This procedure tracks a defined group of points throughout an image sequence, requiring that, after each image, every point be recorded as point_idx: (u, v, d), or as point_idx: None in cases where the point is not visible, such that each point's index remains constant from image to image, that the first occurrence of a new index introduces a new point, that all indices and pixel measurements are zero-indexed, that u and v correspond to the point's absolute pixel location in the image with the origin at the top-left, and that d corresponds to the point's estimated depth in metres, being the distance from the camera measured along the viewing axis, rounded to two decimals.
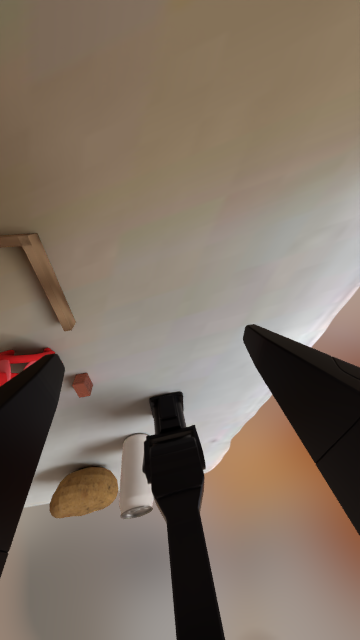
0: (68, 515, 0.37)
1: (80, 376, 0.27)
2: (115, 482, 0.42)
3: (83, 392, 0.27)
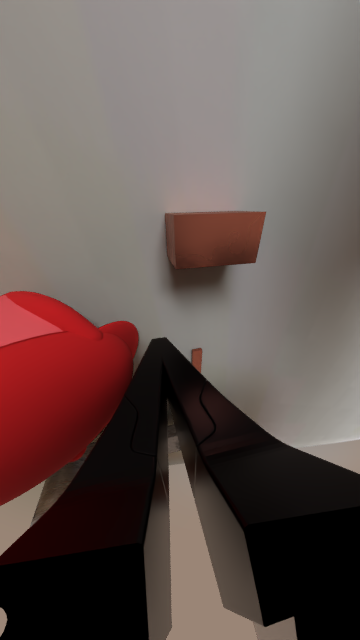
0: None
1: (168, 238, 0.07)
2: None
3: (233, 236, 0.06)
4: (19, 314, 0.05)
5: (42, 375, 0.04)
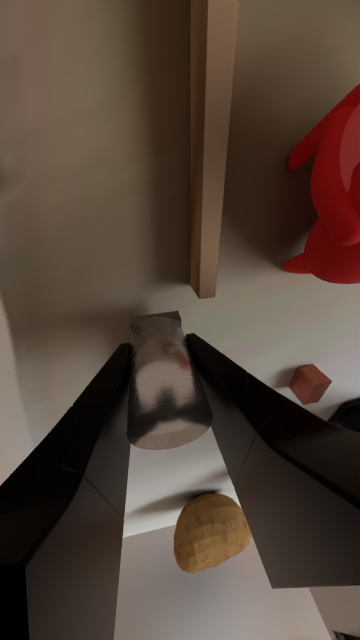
0: (204, 568, 0.26)
1: (309, 370, 0.16)
2: None
3: (316, 396, 0.16)
4: None
5: None
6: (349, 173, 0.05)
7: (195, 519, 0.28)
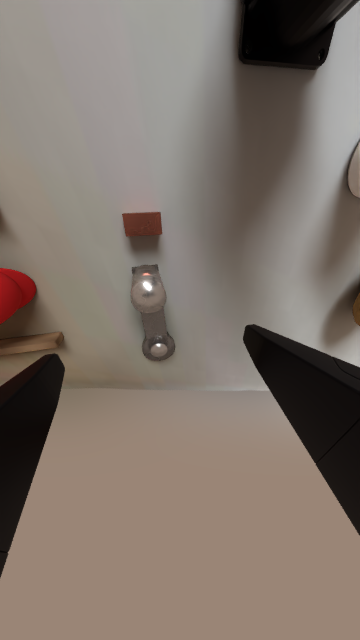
0: None
1: None
2: None
3: (148, 222, 0.14)
4: None
5: None
6: None
7: None
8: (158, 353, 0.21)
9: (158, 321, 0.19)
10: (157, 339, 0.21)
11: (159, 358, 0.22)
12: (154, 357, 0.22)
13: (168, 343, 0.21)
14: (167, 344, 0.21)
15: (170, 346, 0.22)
